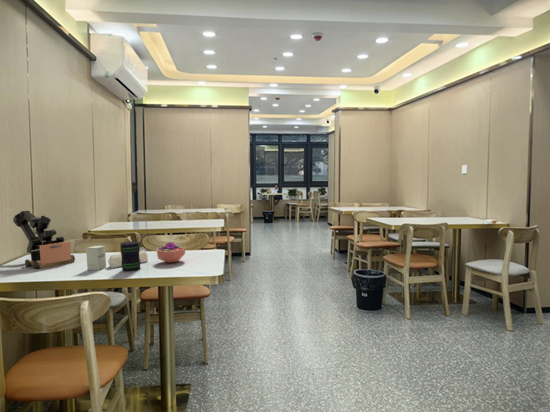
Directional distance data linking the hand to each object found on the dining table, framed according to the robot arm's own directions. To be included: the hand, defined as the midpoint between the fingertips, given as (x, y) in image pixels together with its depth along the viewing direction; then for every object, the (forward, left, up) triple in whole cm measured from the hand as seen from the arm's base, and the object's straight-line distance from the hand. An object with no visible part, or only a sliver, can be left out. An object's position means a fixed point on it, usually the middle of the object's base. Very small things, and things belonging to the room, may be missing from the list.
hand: (52, 253), depth 252 cm
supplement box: (+24, +30, -7) cm, 39 cm away
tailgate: (+4, +3, -5) cm, 7 cm away
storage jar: (+35, +50, -7) cm, 61 cm away
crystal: (+17, +46, -8) cm, 50 cm away
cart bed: (-3, -3, -7) cm, 8 cm away
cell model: (+22, +71, -7) cm, 74 cm away
